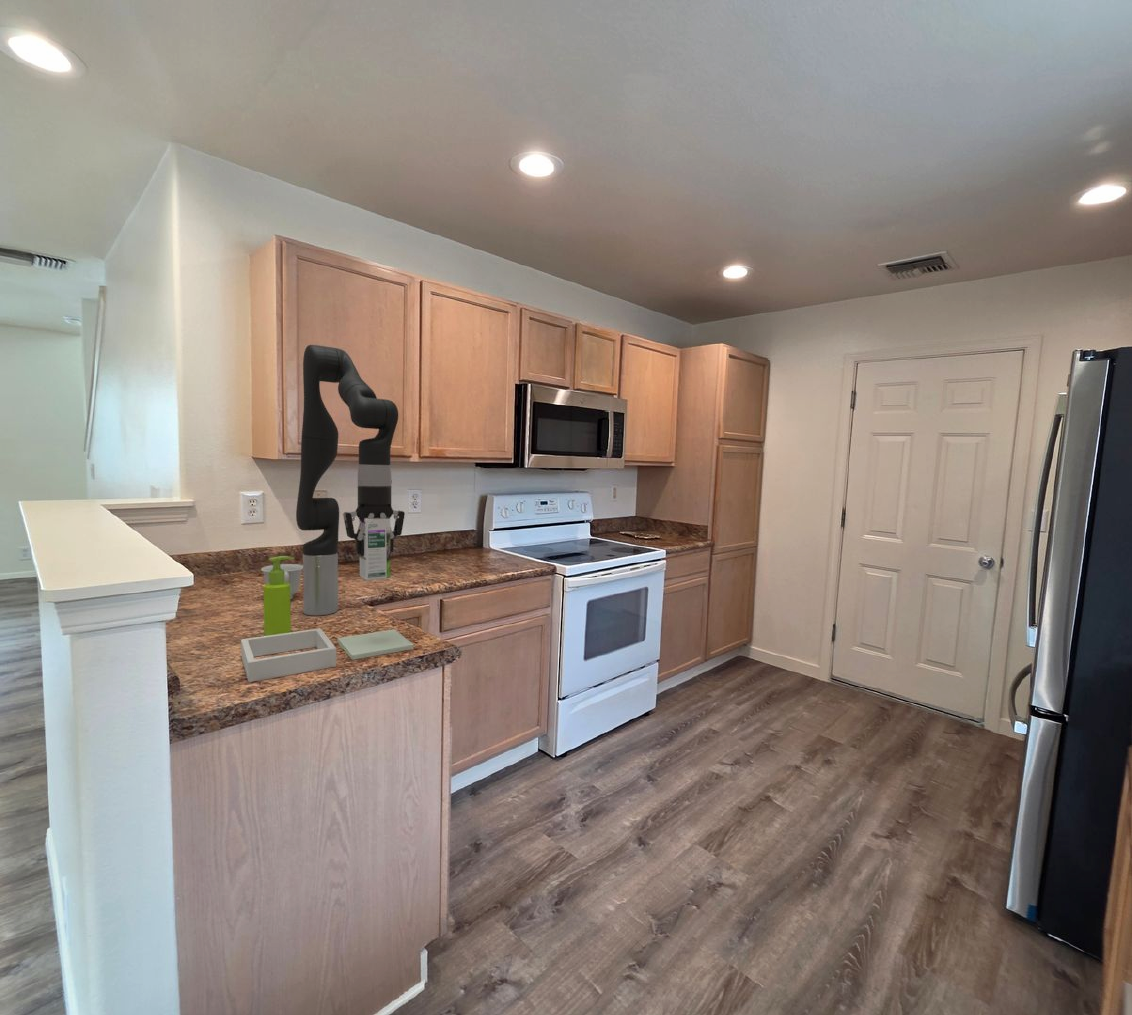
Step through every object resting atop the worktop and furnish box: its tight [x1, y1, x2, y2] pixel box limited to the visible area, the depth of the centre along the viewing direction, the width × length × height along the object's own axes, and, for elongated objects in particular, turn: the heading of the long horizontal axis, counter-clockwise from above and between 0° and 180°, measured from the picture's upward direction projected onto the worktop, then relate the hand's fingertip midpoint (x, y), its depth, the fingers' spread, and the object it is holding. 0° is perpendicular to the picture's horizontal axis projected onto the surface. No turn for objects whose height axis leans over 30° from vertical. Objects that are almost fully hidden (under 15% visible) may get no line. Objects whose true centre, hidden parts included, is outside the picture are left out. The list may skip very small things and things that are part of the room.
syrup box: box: [358, 517, 392, 582], centre depth 128 cm, size 6×6×14 cm
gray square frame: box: [240, 627, 337, 683], centre depth 118 cm, size 16×16×4 cm
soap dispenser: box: [262, 555, 295, 636], centre depth 135 cm, size 6×7×20 cm
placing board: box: [337, 628, 415, 661], centre depth 130 cm, size 14×14×1 cm
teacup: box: [260, 563, 303, 600], centre depth 169 cm, size 12×15×10 cm
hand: (374, 554), depth 129 cm, fingers closed on syrup box, 5 cm apart
